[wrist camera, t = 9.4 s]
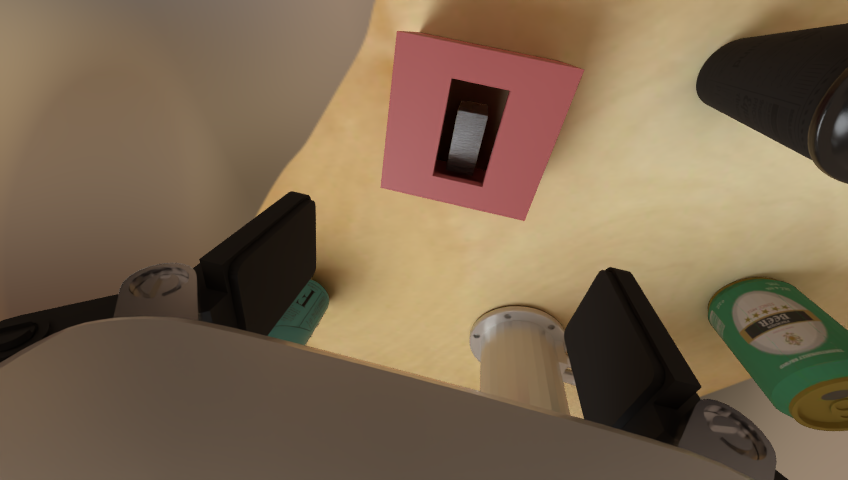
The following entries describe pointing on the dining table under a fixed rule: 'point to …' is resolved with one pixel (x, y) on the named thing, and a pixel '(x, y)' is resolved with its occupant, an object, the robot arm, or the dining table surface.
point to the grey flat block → (467, 137)
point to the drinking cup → (787, 91)
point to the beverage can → (786, 349)
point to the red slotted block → (517, 135)
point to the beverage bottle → (302, 315)
